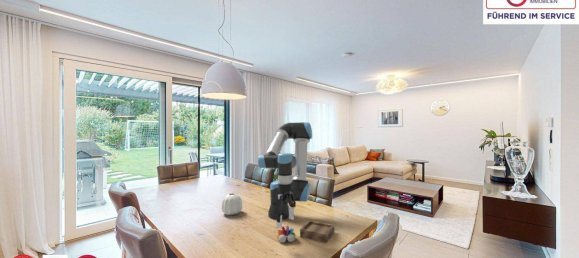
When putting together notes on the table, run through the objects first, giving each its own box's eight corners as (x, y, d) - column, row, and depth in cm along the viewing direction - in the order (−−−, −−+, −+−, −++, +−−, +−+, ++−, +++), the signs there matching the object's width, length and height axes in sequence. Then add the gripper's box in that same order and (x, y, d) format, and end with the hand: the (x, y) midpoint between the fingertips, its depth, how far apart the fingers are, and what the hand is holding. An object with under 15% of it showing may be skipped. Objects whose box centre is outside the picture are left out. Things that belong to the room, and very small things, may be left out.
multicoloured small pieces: (277, 236, 127) (276, 223, 127) (294, 235, 128) (294, 222, 128) (277, 244, 119) (277, 230, 119) (296, 243, 120) (296, 228, 120)
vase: (217, 215, 160) (217, 195, 159) (230, 208, 172) (229, 190, 172) (234, 218, 154) (234, 197, 154) (246, 211, 167) (246, 192, 167)
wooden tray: (300, 236, 126) (299, 229, 126) (309, 227, 138) (309, 220, 138) (326, 242, 119) (326, 234, 119) (334, 232, 131) (334, 224, 131)
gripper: (279, 188, 111) (280, 234, 110) (301, 179, 133) (301, 216, 133) (266, 187, 114) (266, 231, 114) (289, 178, 136) (290, 214, 136)
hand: (285, 223), depth 123 cm, fingers open, 13 cm apart
